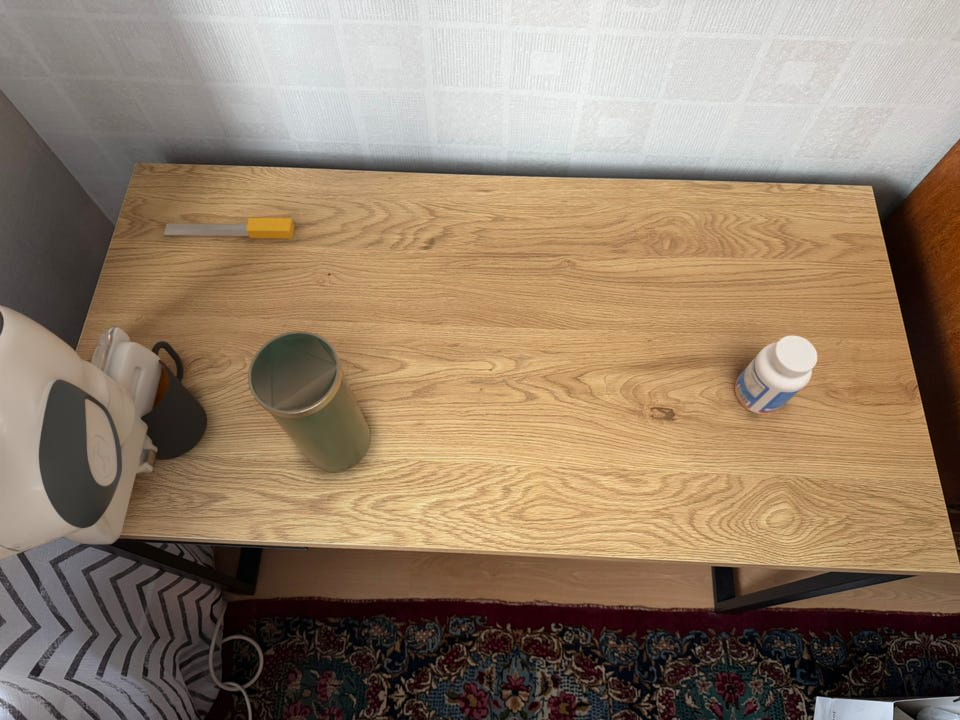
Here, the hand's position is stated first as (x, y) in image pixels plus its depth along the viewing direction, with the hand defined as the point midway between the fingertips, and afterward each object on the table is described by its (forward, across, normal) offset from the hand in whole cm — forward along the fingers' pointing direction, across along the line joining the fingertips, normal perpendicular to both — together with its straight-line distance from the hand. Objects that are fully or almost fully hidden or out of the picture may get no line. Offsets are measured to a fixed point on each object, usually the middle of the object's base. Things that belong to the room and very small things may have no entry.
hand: (148, 460), depth 71 cm
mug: (+4, -7, 0) cm, 8 cm away
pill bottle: (+4, -11, +72) cm, 73 cm away
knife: (+4, -35, +2) cm, 35 cm away
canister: (+4, -4, +20) cm, 21 cm away
